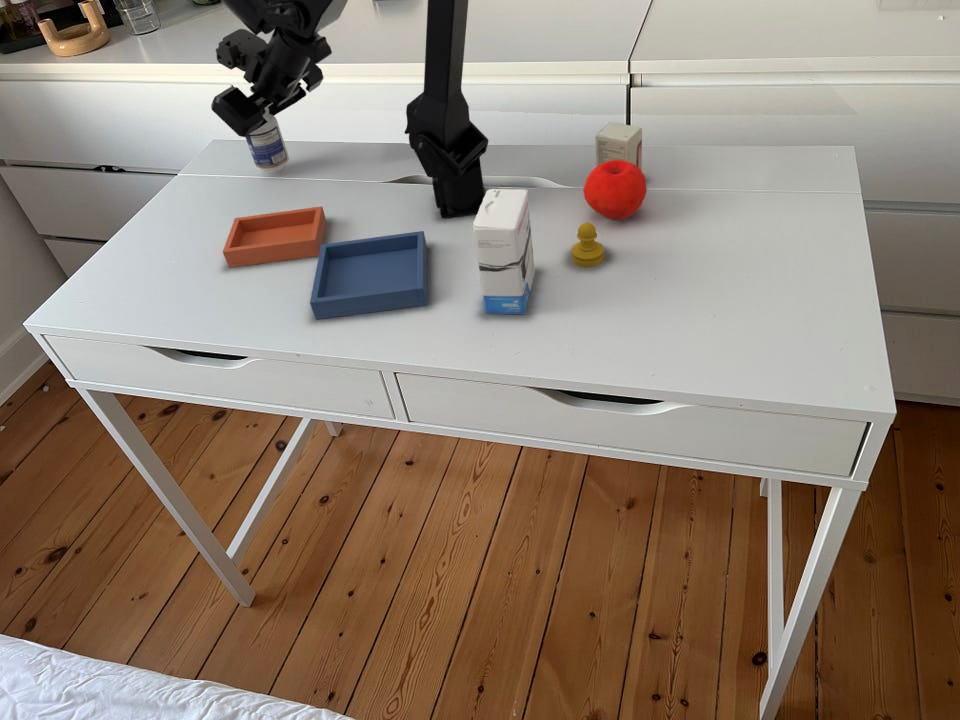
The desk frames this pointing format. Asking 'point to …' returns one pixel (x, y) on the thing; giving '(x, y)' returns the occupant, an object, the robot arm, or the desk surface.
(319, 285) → the blue tray
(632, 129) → the small box
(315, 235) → the terracotta tray
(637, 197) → the apple
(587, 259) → the chess piece
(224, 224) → the desk surface
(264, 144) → the pill bottle
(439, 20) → the robot arm
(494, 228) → the ink box
